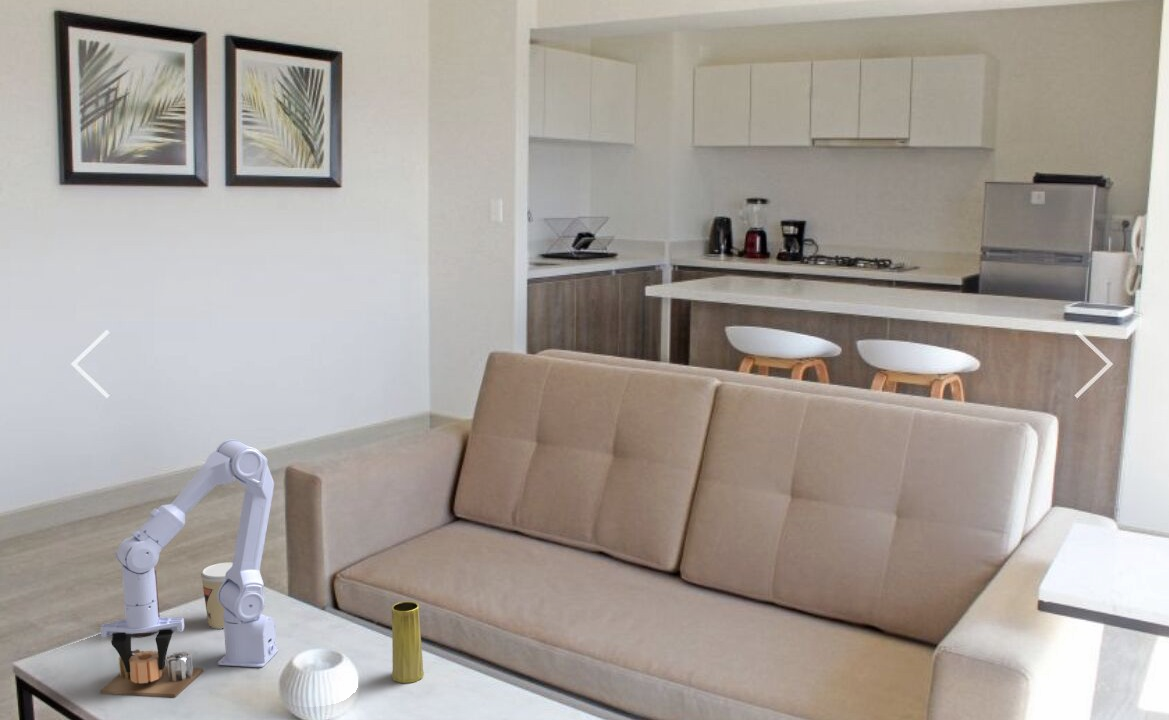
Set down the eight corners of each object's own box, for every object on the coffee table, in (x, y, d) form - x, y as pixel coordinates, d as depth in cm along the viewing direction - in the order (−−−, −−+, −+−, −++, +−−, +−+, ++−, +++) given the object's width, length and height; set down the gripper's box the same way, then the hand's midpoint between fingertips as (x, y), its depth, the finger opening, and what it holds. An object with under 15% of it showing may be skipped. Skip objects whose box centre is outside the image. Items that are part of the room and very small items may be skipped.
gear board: (203, 671, 211) (202, 652, 210) (175, 697, 200) (173, 678, 200) (132, 667, 213) (130, 649, 212) (100, 693, 202) (98, 673, 202)
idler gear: (164, 669, 207) (163, 649, 207) (158, 681, 202) (156, 661, 202) (135, 671, 207) (133, 651, 206) (128, 684, 201) (126, 664, 201)
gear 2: (197, 671, 210) (195, 650, 209) (185, 682, 205) (184, 660, 204) (175, 670, 210) (173, 649, 209) (162, 680, 206) (161, 659, 205)
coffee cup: (206, 615, 238) (203, 563, 236) (250, 611, 240) (247, 560, 238) (202, 632, 229) (198, 578, 227) (248, 628, 231) (244, 574, 230)
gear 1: (150, 669, 211) (148, 648, 210) (137, 680, 206) (136, 658, 205) (128, 668, 211) (126, 647, 210) (115, 678, 207) (113, 657, 206)
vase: (397, 686, 204) (394, 614, 202) (387, 673, 209) (384, 603, 207) (428, 679, 207) (425, 608, 204) (417, 666, 212) (415, 597, 210)
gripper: (185, 590, 207) (190, 656, 209) (105, 595, 205) (111, 662, 207) (177, 603, 200) (182, 672, 202) (95, 609, 198) (101, 679, 200)
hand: (146, 668), depth 204 cm, fingers closed on idler gear, 5 cm apart
